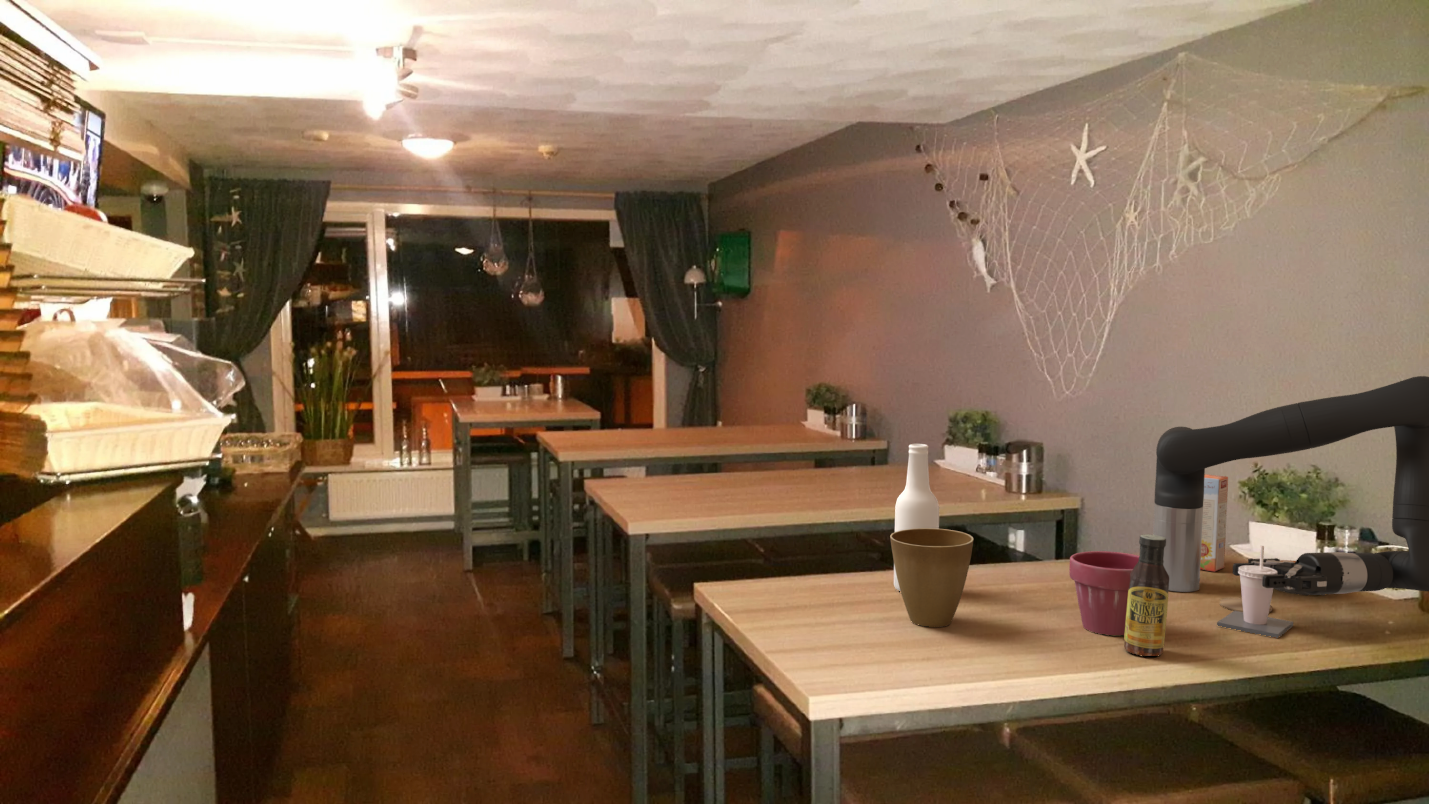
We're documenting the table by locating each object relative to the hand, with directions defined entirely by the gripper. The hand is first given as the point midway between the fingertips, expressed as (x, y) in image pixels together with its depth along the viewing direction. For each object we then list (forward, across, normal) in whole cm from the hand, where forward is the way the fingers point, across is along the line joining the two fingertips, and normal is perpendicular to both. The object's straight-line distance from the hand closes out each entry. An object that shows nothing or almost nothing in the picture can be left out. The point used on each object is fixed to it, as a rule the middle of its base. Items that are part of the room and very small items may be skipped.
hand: (1248, 575), depth 186 cm
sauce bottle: (+26, +12, +10) cm, 30 cm away
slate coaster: (-2, 0, +10) cm, 10 cm away
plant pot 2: (+26, -2, +10) cm, 27 cm away
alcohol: (+52, -30, +10) cm, 61 cm away
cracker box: (-16, -44, +10) cm, 48 cm away
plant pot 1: (+56, -9, +10) cm, 58 cm away
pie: (-28, -23, +10) cm, 37 cm away
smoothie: (-2, 0, +9) cm, 9 cm away
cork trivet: (-8, -12, +10) cm, 17 cm away
